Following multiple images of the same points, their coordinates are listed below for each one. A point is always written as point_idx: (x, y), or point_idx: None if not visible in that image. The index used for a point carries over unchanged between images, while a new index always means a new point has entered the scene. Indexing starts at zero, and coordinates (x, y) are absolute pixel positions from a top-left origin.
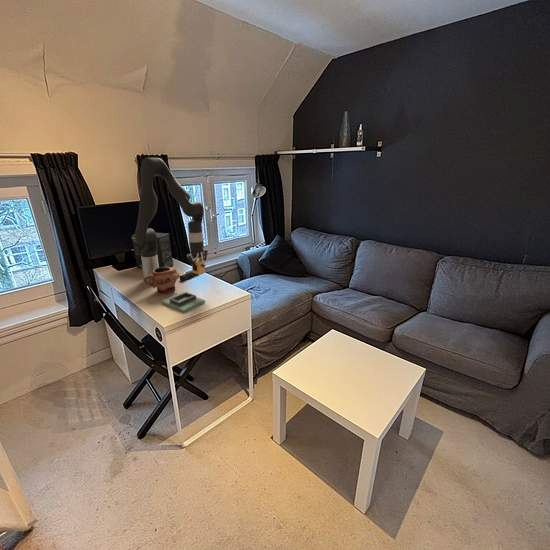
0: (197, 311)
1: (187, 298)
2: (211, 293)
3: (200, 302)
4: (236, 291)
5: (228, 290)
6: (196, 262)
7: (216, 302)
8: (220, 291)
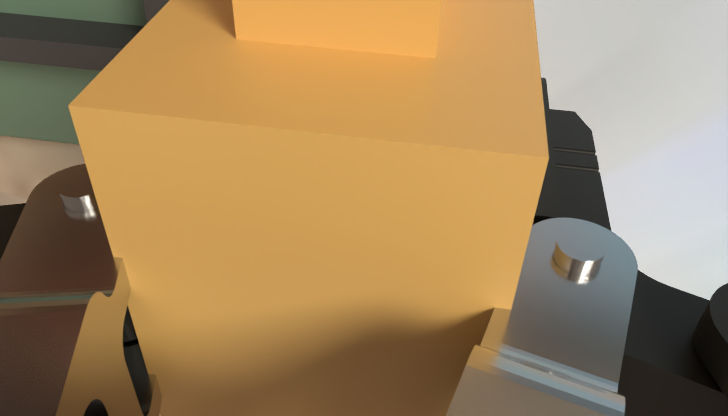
0: None
1: (45, 49)
2: None
3: None
4: (707, 268)
5: (706, 180)
6: (157, 382)
7: None
8: (631, 113)
